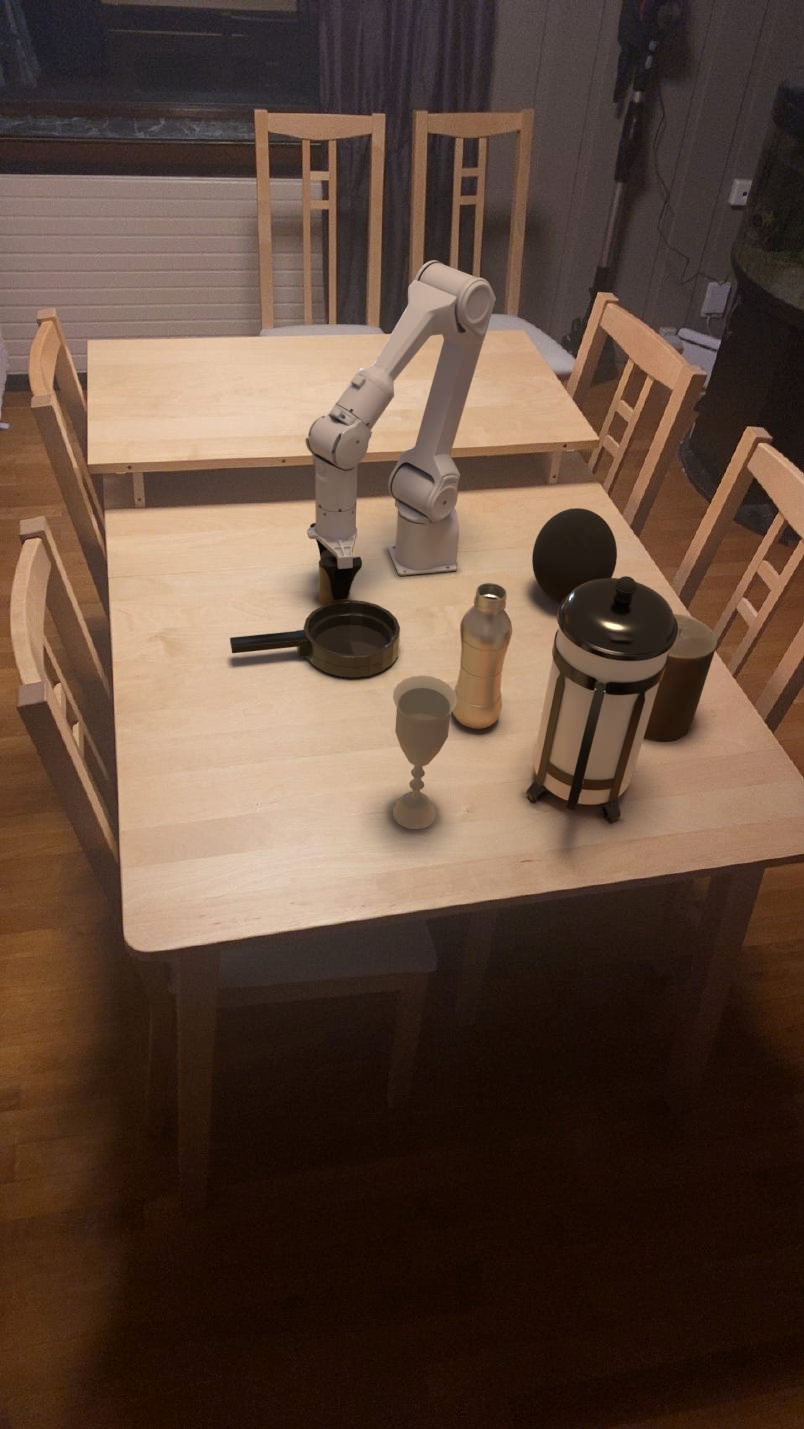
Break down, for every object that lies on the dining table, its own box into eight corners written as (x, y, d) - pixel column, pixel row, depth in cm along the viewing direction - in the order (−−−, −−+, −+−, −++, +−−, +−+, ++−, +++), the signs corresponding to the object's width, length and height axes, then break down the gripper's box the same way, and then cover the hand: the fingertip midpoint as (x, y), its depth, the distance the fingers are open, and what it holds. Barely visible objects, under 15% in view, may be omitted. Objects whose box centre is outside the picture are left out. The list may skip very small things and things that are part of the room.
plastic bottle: (466, 741, 128) (483, 613, 115) (440, 709, 132) (453, 582, 119) (508, 727, 130) (530, 600, 117) (482, 696, 135) (500, 571, 122)
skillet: (386, 618, 147) (387, 596, 144) (408, 674, 137) (409, 651, 135) (297, 627, 144) (297, 604, 142) (313, 685, 135) (313, 661, 132)
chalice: (383, 791, 120) (390, 675, 108) (439, 790, 121) (452, 675, 109) (387, 837, 115) (395, 720, 103) (446, 835, 116) (460, 719, 104)
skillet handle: (306, 645, 140) (306, 629, 138) (309, 656, 138) (309, 640, 136) (230, 653, 138) (229, 636, 136) (233, 664, 136) (231, 648, 134)
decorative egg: (622, 612, 151) (643, 526, 142) (553, 630, 147) (570, 542, 137) (577, 570, 160) (594, 485, 150) (510, 586, 155) (524, 500, 145)
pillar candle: (685, 749, 129) (715, 658, 119) (611, 729, 131) (634, 637, 121) (696, 704, 136) (725, 614, 126) (625, 686, 138) (648, 596, 128)
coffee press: (490, 758, 126) (521, 554, 106) (598, 730, 131) (648, 530, 111) (558, 858, 114) (608, 649, 94) (674, 822, 119) (745, 617, 99)
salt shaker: (346, 590, 152) (347, 546, 147) (352, 607, 149) (353, 563, 143) (316, 593, 151) (316, 548, 146) (321, 610, 148) (321, 565, 142)
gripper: (299, 478, 143) (300, 559, 152) (316, 531, 133) (316, 614, 142) (347, 475, 145) (345, 555, 154) (368, 527, 134) (365, 609, 143)
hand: (335, 583), depth 148 cm, fingers open, 7 cm apart
